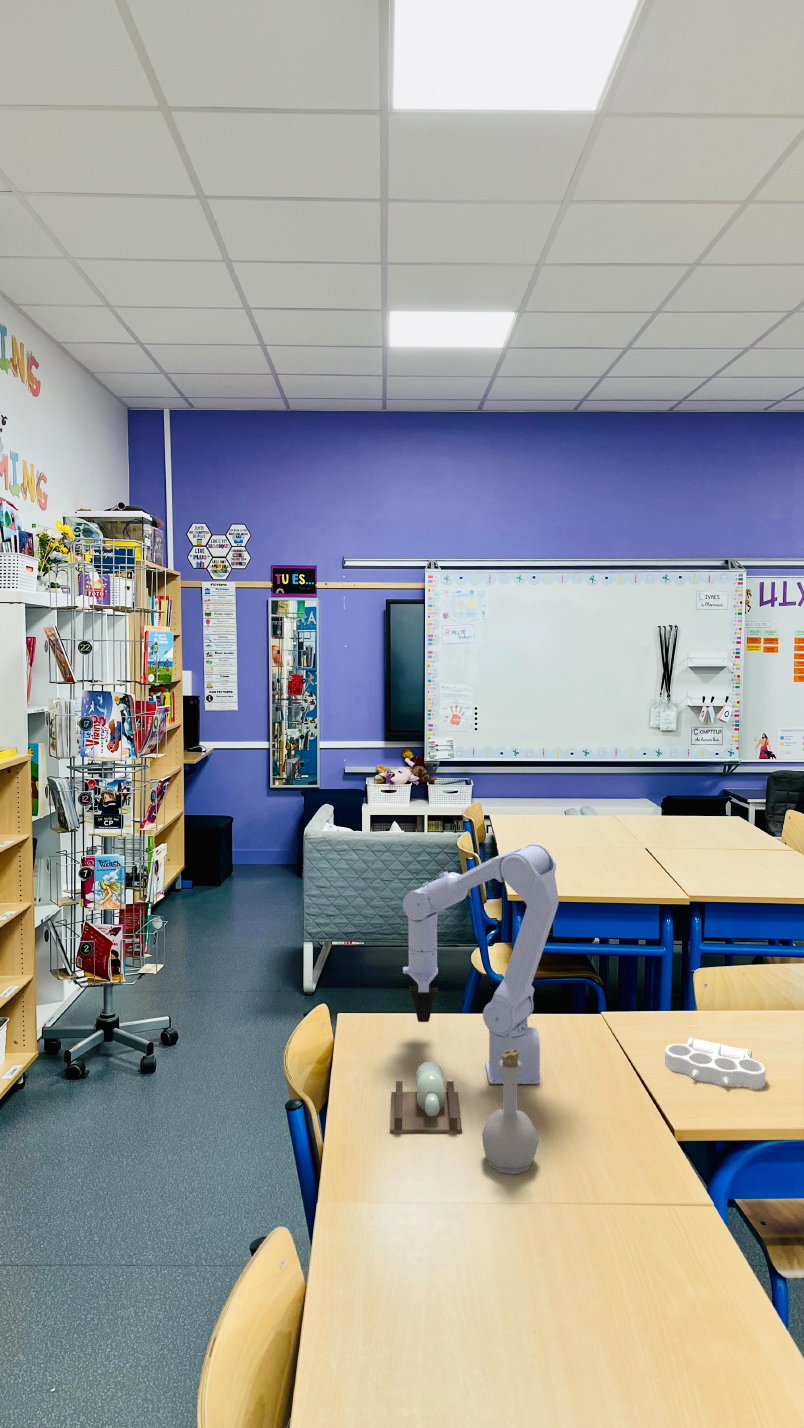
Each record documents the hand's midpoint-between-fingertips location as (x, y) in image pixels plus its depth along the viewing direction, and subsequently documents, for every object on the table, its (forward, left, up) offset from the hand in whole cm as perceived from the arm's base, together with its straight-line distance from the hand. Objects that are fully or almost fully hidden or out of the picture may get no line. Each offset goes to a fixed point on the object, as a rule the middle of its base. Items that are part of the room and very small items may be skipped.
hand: (423, 1013), depth 168 cm
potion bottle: (-13, +38, -8) cm, 40 cm away
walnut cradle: (0, +24, -7) cm, 25 cm away
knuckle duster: (-56, +8, -8) cm, 57 cm away
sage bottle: (-1, +17, -4) cm, 17 cm away
